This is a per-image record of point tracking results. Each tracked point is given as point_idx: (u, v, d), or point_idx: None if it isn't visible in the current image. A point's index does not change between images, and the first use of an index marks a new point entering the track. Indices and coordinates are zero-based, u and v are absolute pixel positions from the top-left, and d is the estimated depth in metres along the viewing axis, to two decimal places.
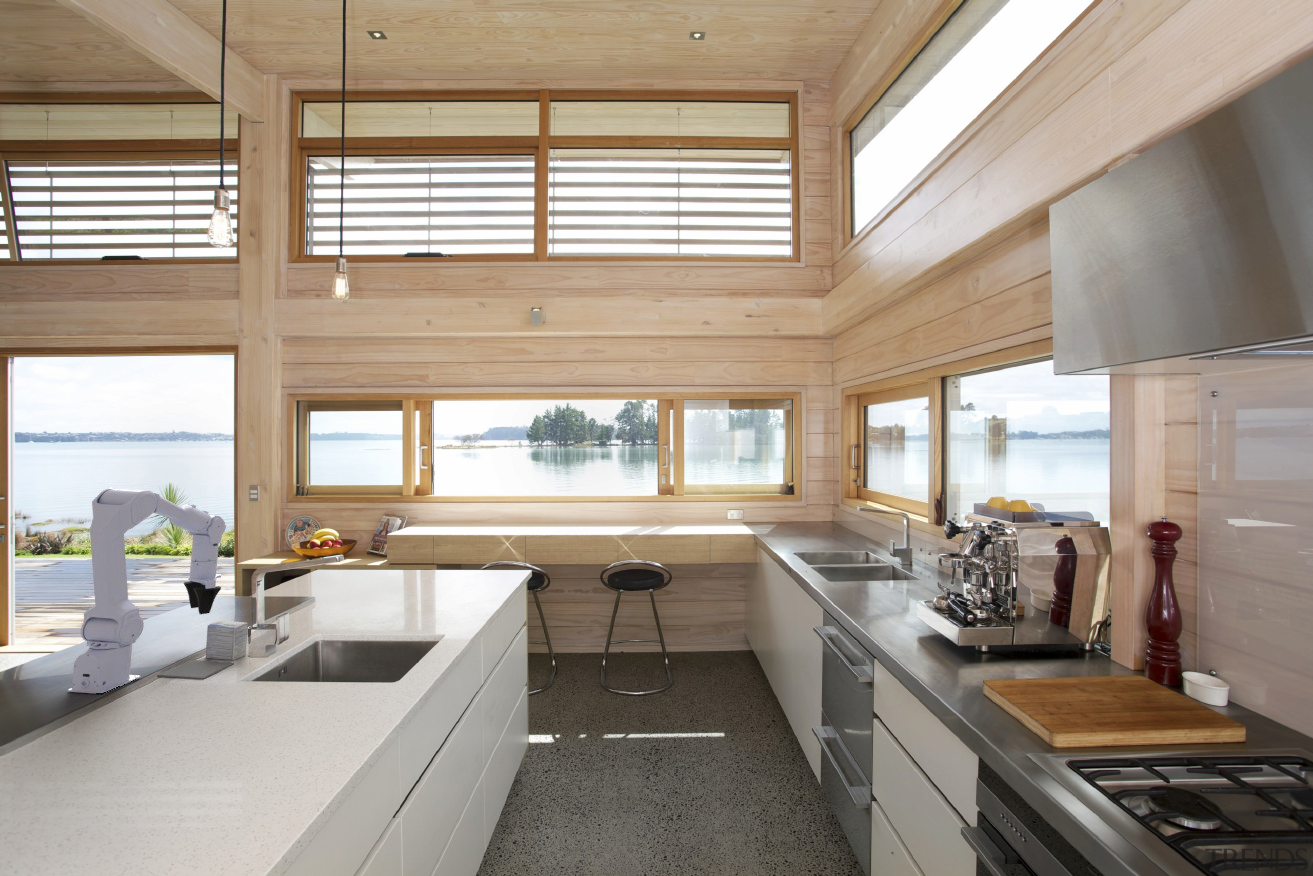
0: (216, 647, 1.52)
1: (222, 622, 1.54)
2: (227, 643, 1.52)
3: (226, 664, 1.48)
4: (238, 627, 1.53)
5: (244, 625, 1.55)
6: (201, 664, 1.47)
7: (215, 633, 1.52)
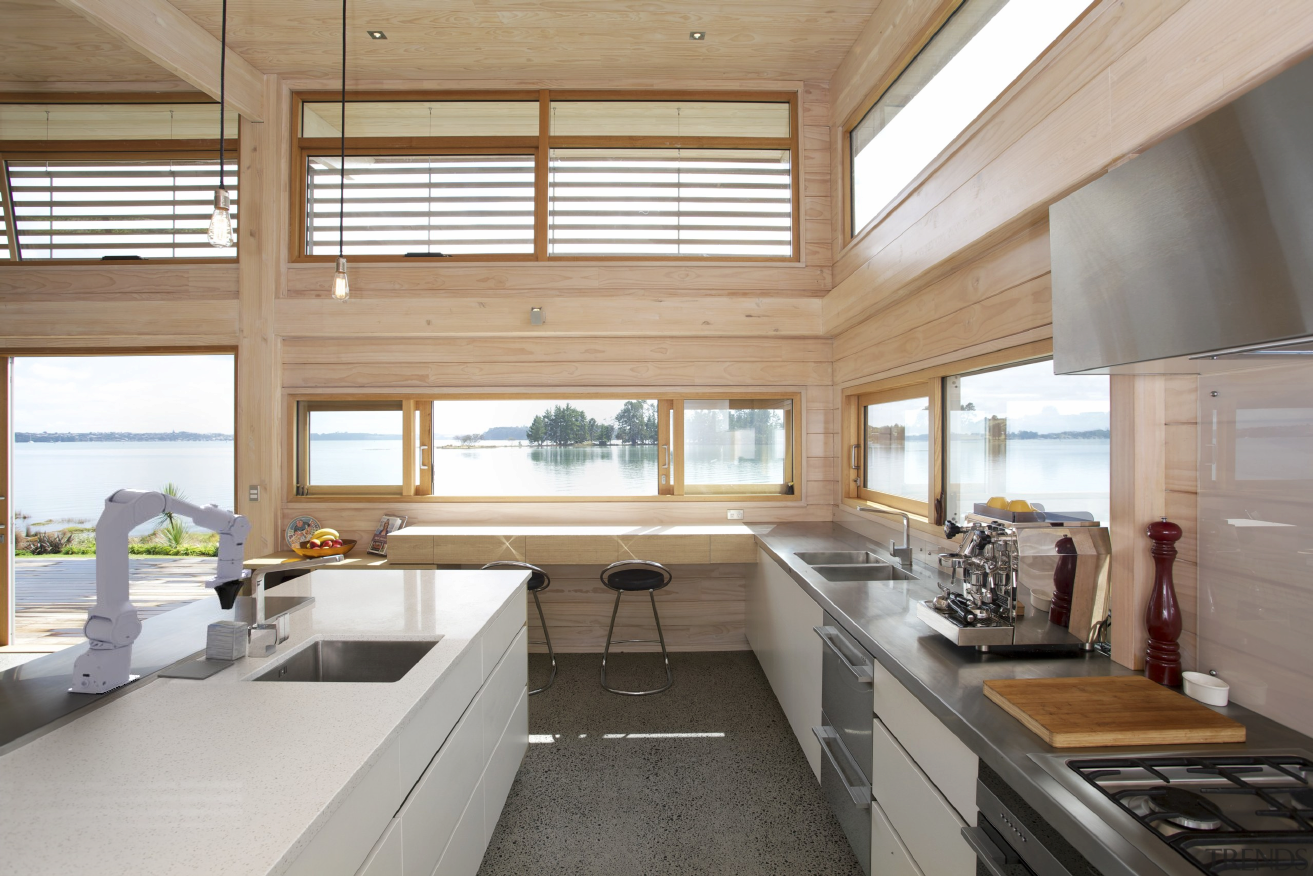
0: (216, 647, 1.52)
1: (222, 622, 1.54)
2: (227, 643, 1.52)
3: (226, 664, 1.48)
4: (238, 627, 1.53)
5: (244, 625, 1.55)
6: (201, 664, 1.47)
7: (215, 633, 1.52)
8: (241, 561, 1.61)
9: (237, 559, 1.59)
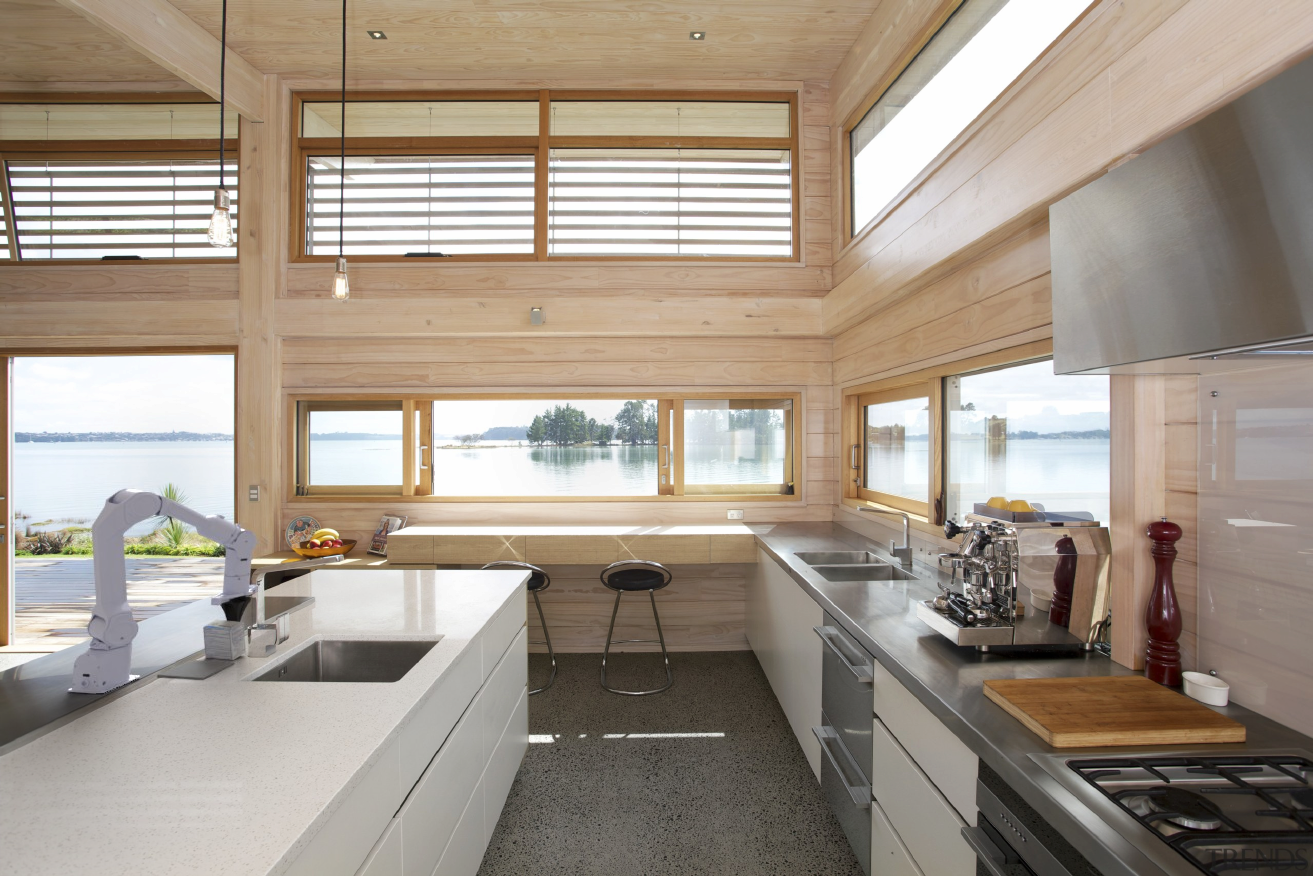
0: (214, 647, 1.51)
1: (217, 623, 1.53)
2: (225, 644, 1.51)
3: (226, 664, 1.48)
4: (234, 629, 1.51)
5: (241, 625, 1.53)
6: (201, 664, 1.47)
7: (212, 635, 1.51)
8: (248, 577, 1.57)
9: (244, 575, 1.55)
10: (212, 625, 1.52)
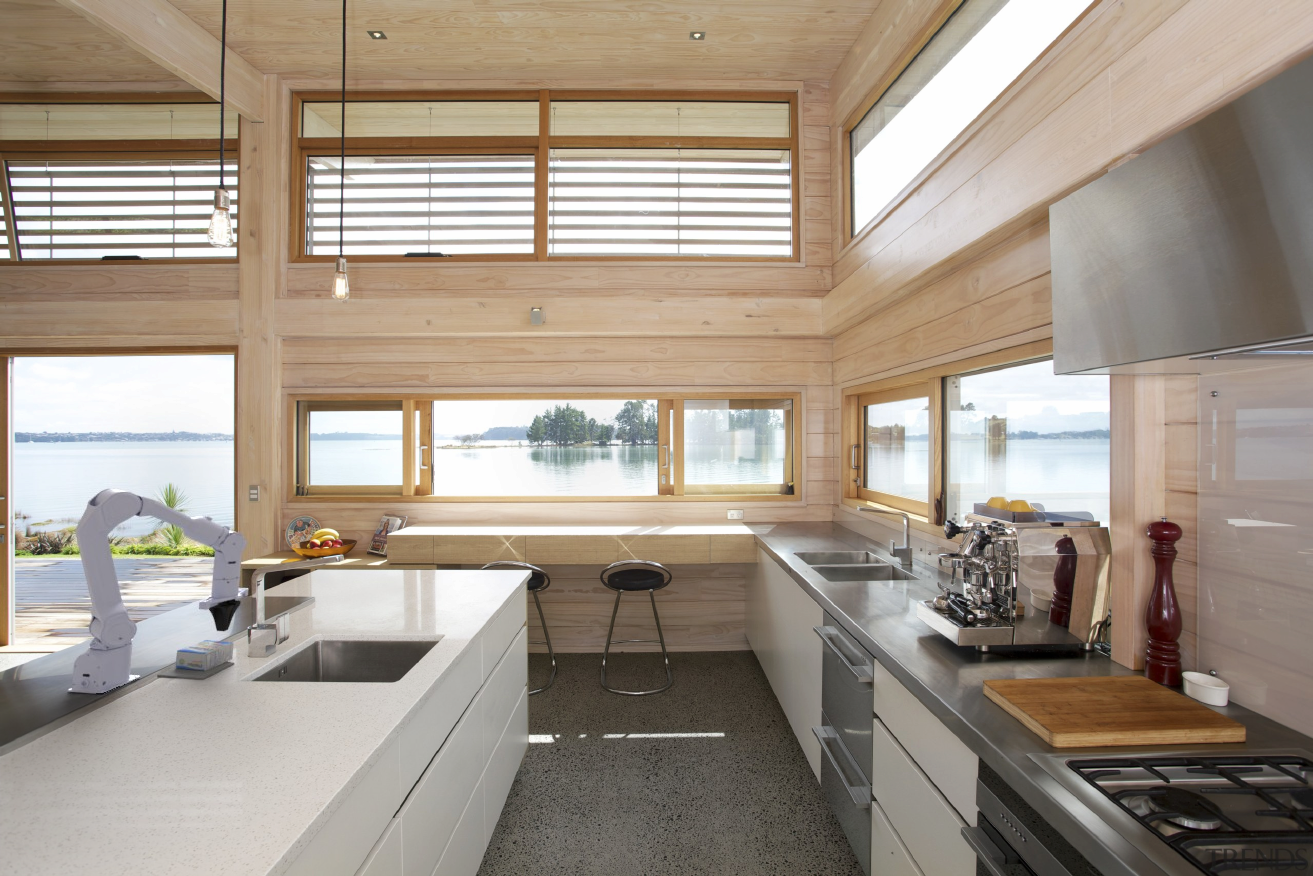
0: None
1: (183, 660, 1.43)
2: None
3: (226, 664, 1.48)
4: (206, 666, 1.43)
5: (207, 657, 1.43)
6: None
7: None
8: (237, 580, 1.53)
9: (233, 578, 1.51)
10: (181, 664, 1.43)
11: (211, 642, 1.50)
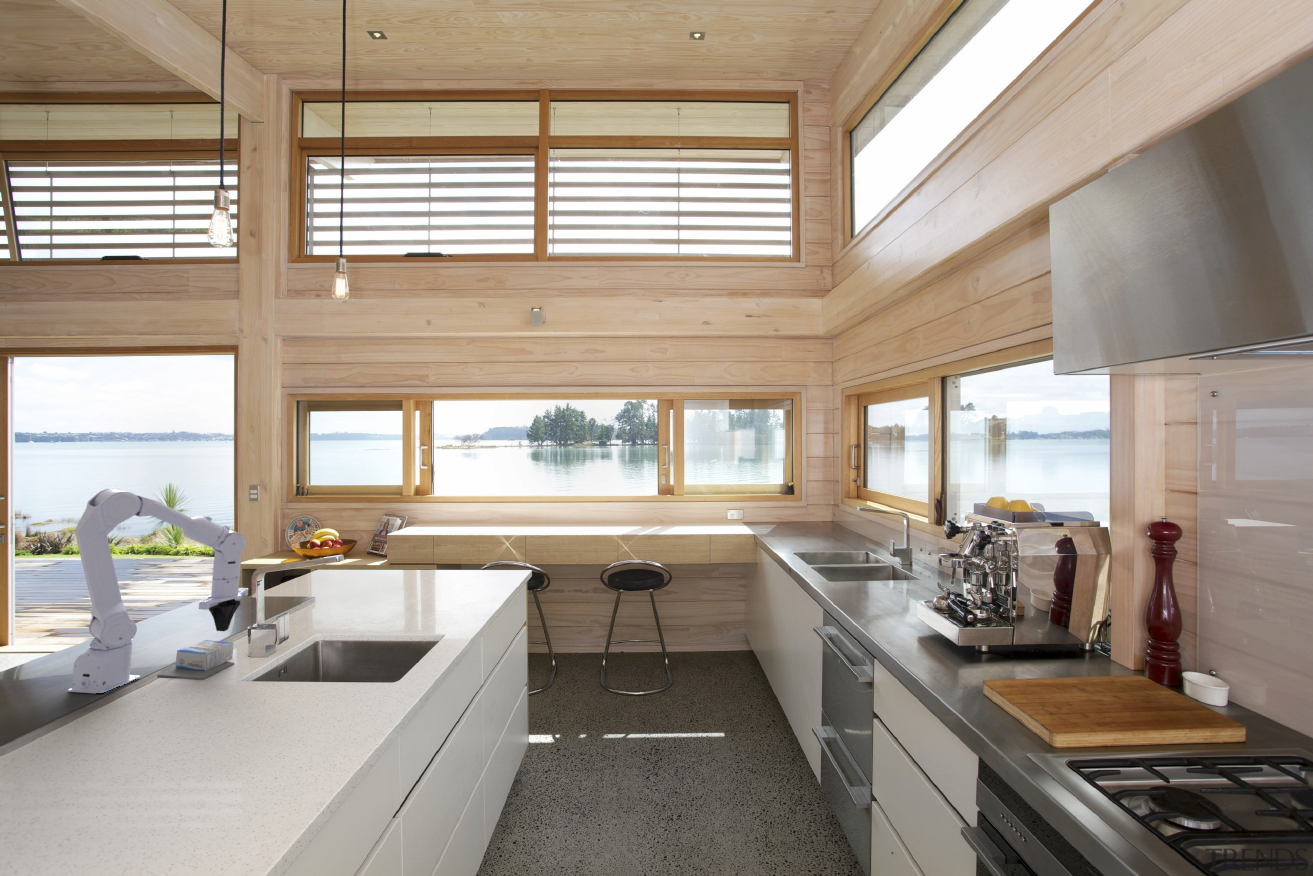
0: None
1: (183, 660, 1.43)
2: None
3: (226, 664, 1.48)
4: (206, 666, 1.43)
5: (207, 657, 1.43)
6: None
7: None
8: (237, 580, 1.53)
9: (233, 578, 1.51)
10: (181, 664, 1.43)
11: (211, 642, 1.50)
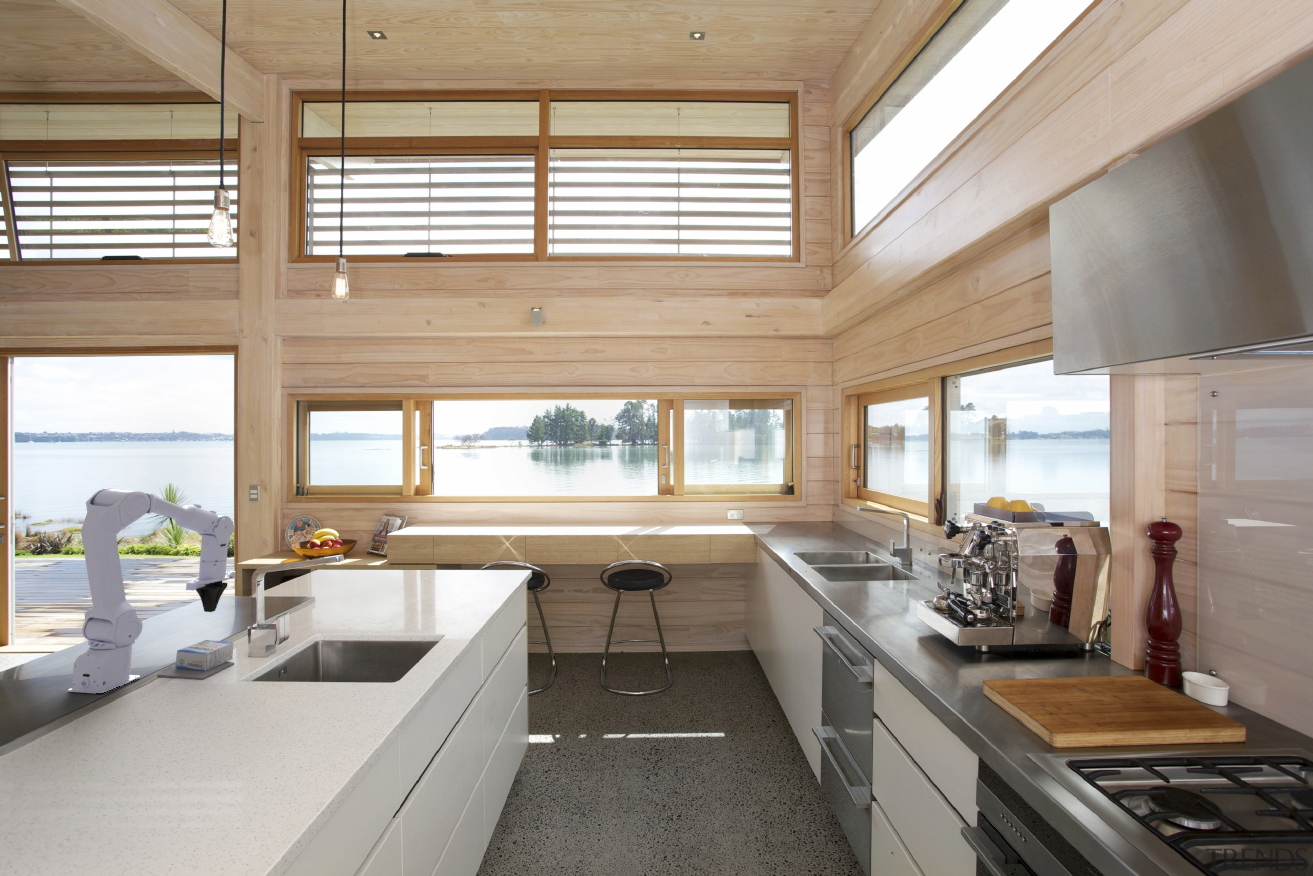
0: None
1: (183, 660, 1.43)
2: None
3: (226, 664, 1.48)
4: (206, 666, 1.43)
5: (207, 657, 1.43)
6: None
7: None
8: (224, 562, 1.58)
9: (220, 560, 1.56)
10: (181, 664, 1.43)
11: (211, 642, 1.50)
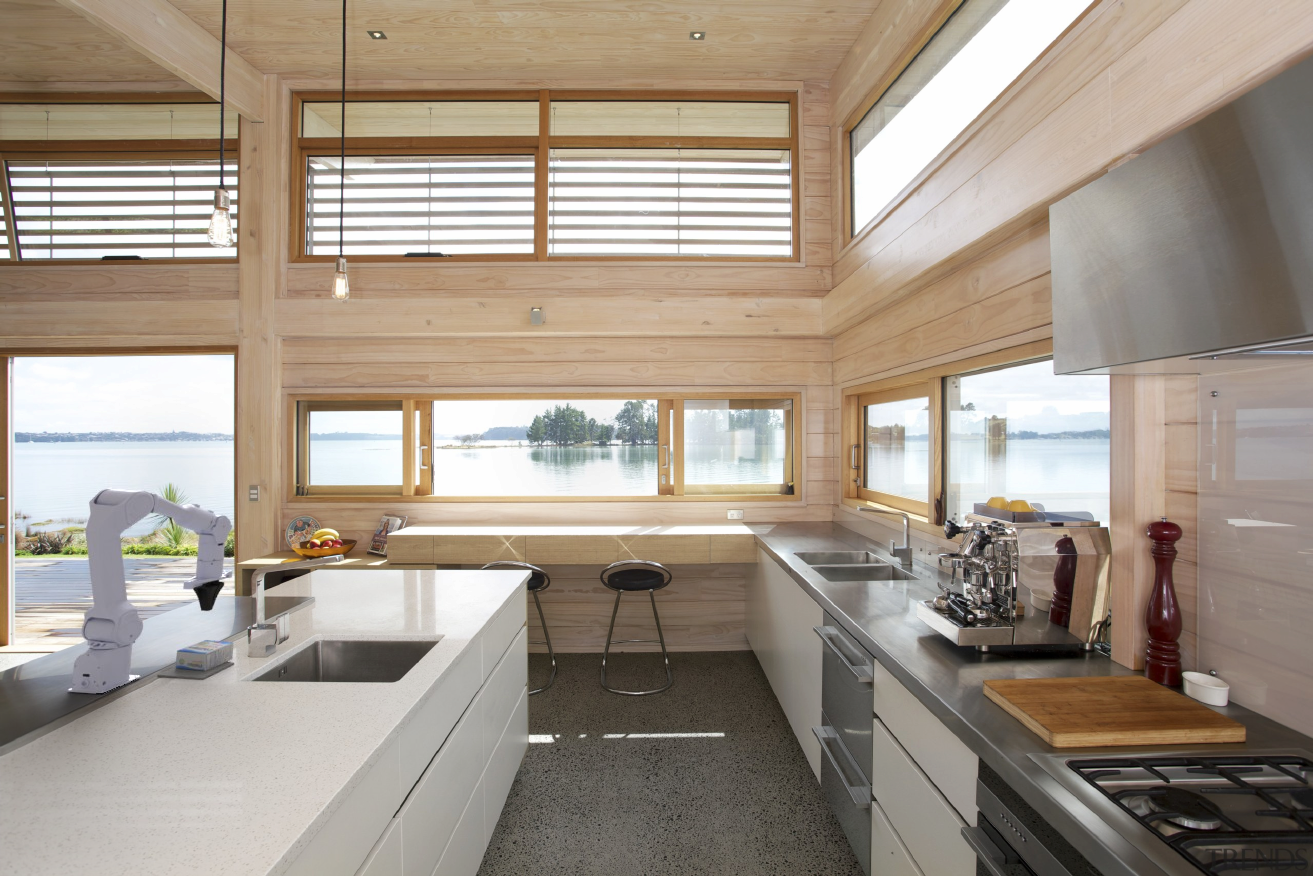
0: None
1: (183, 660, 1.43)
2: None
3: (226, 664, 1.48)
4: (206, 666, 1.43)
5: (207, 657, 1.43)
6: None
7: None
8: (221, 562, 1.59)
9: (217, 560, 1.57)
10: (181, 664, 1.43)
11: (211, 642, 1.50)
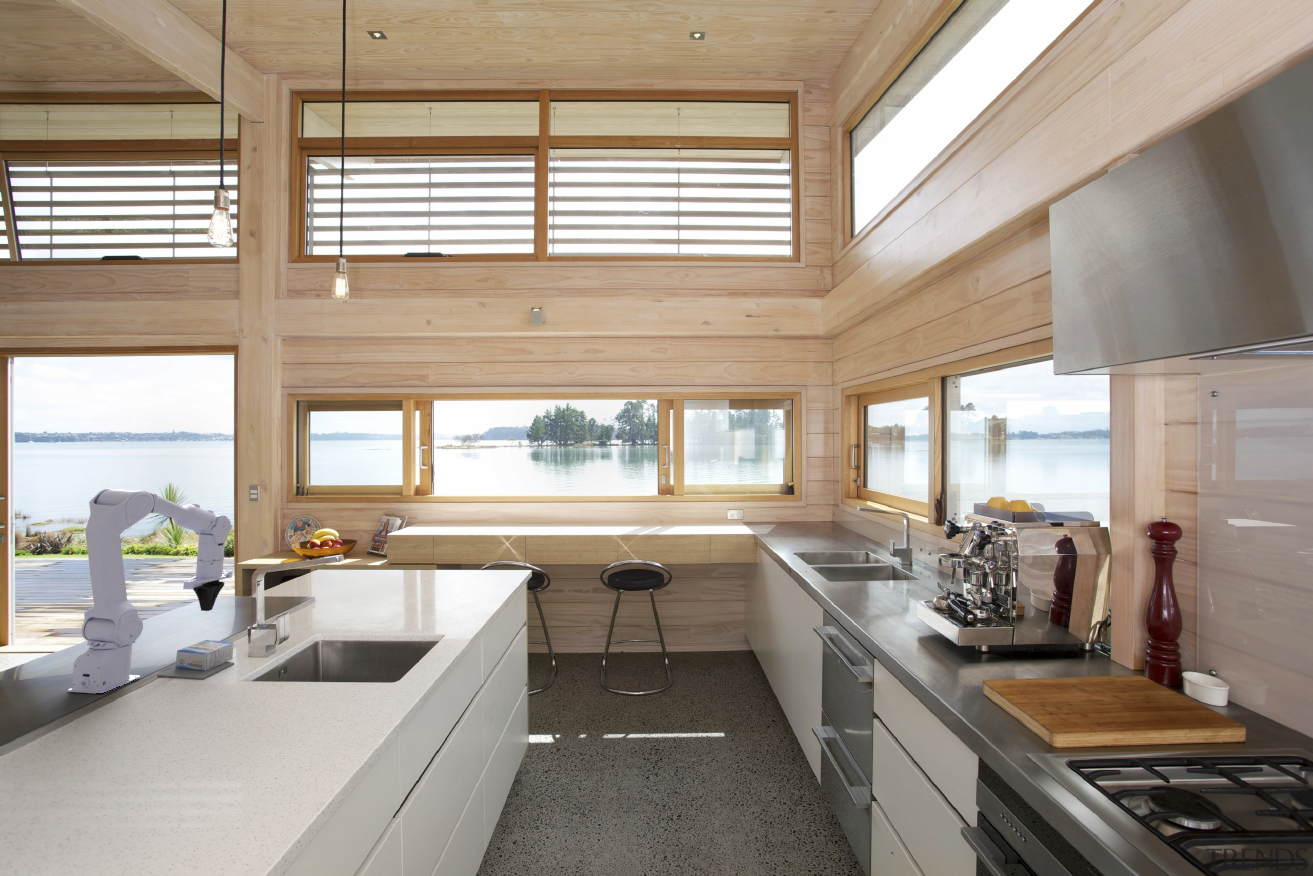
0: None
1: (183, 660, 1.43)
2: None
3: (226, 664, 1.48)
4: (206, 666, 1.43)
5: (207, 657, 1.43)
6: None
7: None
8: (221, 562, 1.59)
9: (217, 560, 1.57)
10: (181, 664, 1.43)
11: (211, 642, 1.50)
